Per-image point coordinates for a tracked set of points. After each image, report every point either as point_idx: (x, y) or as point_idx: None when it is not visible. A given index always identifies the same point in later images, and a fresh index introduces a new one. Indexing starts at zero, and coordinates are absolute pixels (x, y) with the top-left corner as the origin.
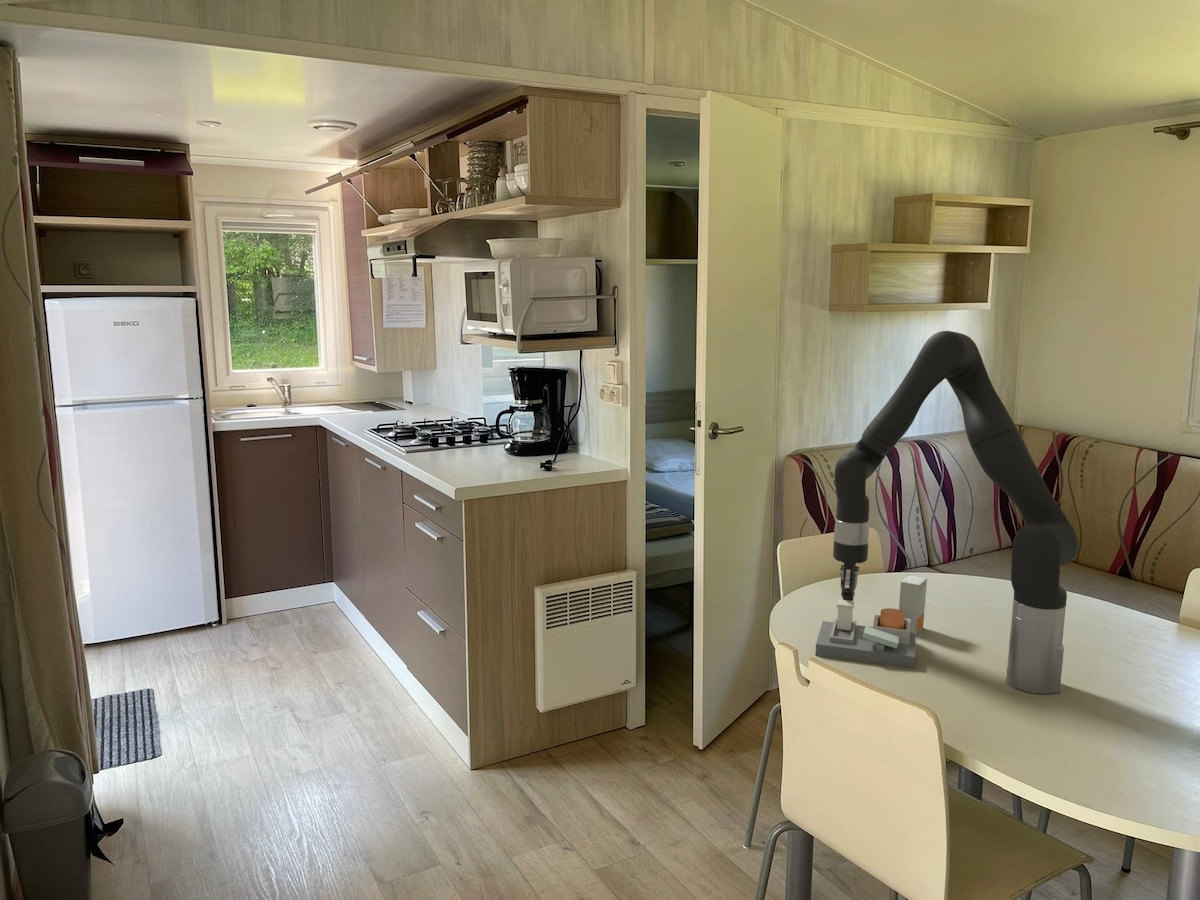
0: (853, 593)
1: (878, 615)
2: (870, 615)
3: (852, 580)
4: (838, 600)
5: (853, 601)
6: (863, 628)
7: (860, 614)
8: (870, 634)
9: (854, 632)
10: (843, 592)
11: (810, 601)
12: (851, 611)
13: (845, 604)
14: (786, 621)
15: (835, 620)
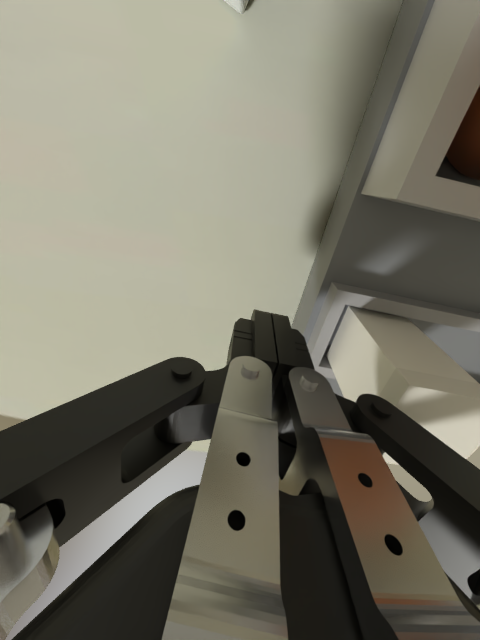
0: (338, 404)
1: (413, 170)
2: (45, 154)
3: (476, 606)
4: (386, 461)
5: (421, 391)
6: (369, 253)
7: (54, 206)
8: None
9: (470, 316)
10: (416, 501)
11: (5, 370)
12: (473, 381)
13: (468, 439)
14: (208, 439)
15: (323, 372)
